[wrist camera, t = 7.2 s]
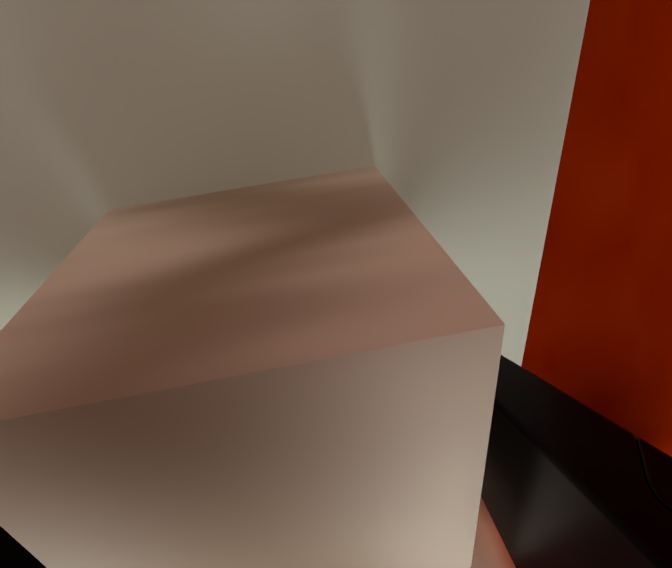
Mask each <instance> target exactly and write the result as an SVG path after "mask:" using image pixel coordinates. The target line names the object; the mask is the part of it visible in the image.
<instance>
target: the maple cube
mask: <svg viewBox="0 0 672 568" xmlns="http://www.w3.org/2000/svg"><path fill="white" fill-rule="evenodd" d="M504 328H505V324H504V322H503V321H502V320H501V319H500V318H499V316H498V315H497V314H496V313H495V311H494V310H493V309H492V308H491V307H490V305H489V304H488V303H487V302H486V301H485V299H484V298H483V297H482V296H481V294H480V293H479V292H478V291H477V290H476V288H475V287H474V286H473V285H472V283H471V282H470V281H469V280H468V279H467V277H466V276H465V275H464V274H463V273H462V271H461V270H460V269H459V268H458V266H457V265H456V264H455V263H454V262H453V260H452V259H451V258H450V257H449V256H448V254H447V253H446V252H445V251H444V249H443V248H442V247H441V246H440V245H439V243H438V242H437V241H436V240H435V238H434V237H433V236H432V235H431V234H430V232H429V231H428V230H427V229H426V228H425V226H424V225H423V224H422V223H421V221H420V220H419V219H418V218H417V217H416V215H415V214H414V213H413V212H412V210H411V209H410V208H409V207H408V206H407V204H406V203H405V202H404V201H403V200H402V198H401V197H400V196H399V195H398V193H397V192H396V191H395V190H394V189H393V187H392V186H391V185H390V184H389V182H388V181H387V180H386V179H385V178H384V176H383V175H382V174H381V173H380V172H379V170H378V169H377V168H376V167H375V166H372V167H366V168H360V169H354V170H348V171H342V172H336V173H329V174H323V175H317V176H311V177H305V178H299V179H293V180H287V181H280V182H274V183H268V184H262V185H256V186H250V187H244V188H238V189H231V190H225V191H219V192H213V193H207V194H201V195H195V196H188V197H182V198H176V199H170V200H164V201H158V202H152V203H146V204H139V205H133V206H127V207H121V208H115V209H109V210H108V211H107V212H106V214H105V215H104V216H103V217H102V218H101V219H100V220H99V221H98V223H97V224H96V225H95V226H94V227H93V228H92V229H91V230H90V231H89V233H88V234H87V235H86V236H85V237H84V238H83V239H82V240H81V242H80V243H79V244H78V245H77V246H76V247H75V248H74V249H73V250H72V252H71V253H70V254H69V255H68V256H67V257H66V258H65V259H64V261H63V262H62V263H61V264H60V265H59V266H58V267H57V268H56V269H55V271H54V272H53V273H52V274H51V275H50V276H49V277H48V278H47V279H46V281H45V282H44V283H43V284H42V285H41V286H40V287H39V288H38V290H37V291H36V292H35V293H34V294H33V295H32V296H31V297H30V298H29V300H28V301H27V302H26V303H25V304H24V305H23V306H22V307H21V309H20V310H19V311H18V312H17V313H16V314H15V315H14V316H13V317H12V319H11V320H10V321H9V322H8V323H7V324H6V325H5V326H4V328H3V329H2V330H1V331H0V526H1V527H2V528H3V529H4V530H5V531H7V532H8V533H9V534H10V535H11V536H12V537H13V538H14V539H15V540H17V541H18V542H19V543H20V544H21V545H22V546H23V547H24V548H25V549H27V550H28V551H29V552H30V553H31V554H32V555H33V556H34V557H35V558H37V559H38V560H39V561H40V562H41V563H42V564H43V565H44V566H45V567H47V568H471V562H472V555H473V548H474V541H475V534H476V527H477V520H478V513H479V506H480V498H481V491H482V484H483V477H484V470H485V463H486V456H487V449H488V442H489V435H490V428H491V420H492V413H493V406H494V399H495V392H496V385H497V378H498V371H499V364H500V357H501V350H502V343H503V335H504Z"/></svg>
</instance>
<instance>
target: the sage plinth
mask: <svg viewBox="0 0 672 568" xmlns="http://www.w3.org/2000/svg"><path fill="white" fill-rule="evenodd" d="M589 4H590V0H0V331H1V330H2V329H3V328H4V326H5V325H6V324H7V323H8V322H9V321H10V320H11V319H12V317H13V316H14V315H15V314H16V313H17V312H18V311H19V310H20V309H21V307H22V306H23V305H24V304H25V303H26V302H27V301H28V300H29V298H30V297H31V296H32V295H33V294H34V293H35V292H36V291H37V290H38V288H39V287H40V286H41V285H42V284H43V283H44V282H45V281H46V279H47V278H48V277H49V276H50V275H51V274H52V273H53V272H54V271H55V269H56V268H57V267H58V266H59V265H60V264H61V263H62V262H63V261H64V259H65V258H66V257H67V256H68V255H69V254H70V253H71V252H72V250H73V249H74V248H75V247H76V246H77V245H78V244H79V243H80V242H81V240H82V239H83V238H84V237H85V236H86V235H87V234H88V233H89V231H90V230H91V229H92V228H93V227H94V226H95V225H96V224H97V223H98V221H99V220H100V219H101V218H102V217H103V216H104V215H105V214H106V212H107V211H108V210H109V209H115V208H121V207H127V206H133V205H139V204H146V203H152V202H158V201H164V200H170V199H176V198H182V197H188V196H195V195H201V194H207V193H213V192H219V191H225V190H231V189H238V188H244V187H250V186H256V185H262V184H268V183H274V182H280V181H287V180H293V179H299V178H305V177H311V176H317V175H323V174H329V173H336V172H342V171H348V170H354V169H360V168H366V167H372V166H375V167H376V168H377V169H378V170H379V172H380V173H381V174H382V175H383V176H384V178H385V179H386V180H387V181H388V182H389V184H390V185H391V186H392V187H393V189H394V190H395V191H396V192H397V193H398V195H399V196H400V197H401V198H402V200H403V201H404V202H405V203H406V204H407V206H408V207H409V208H410V209H411V210H412V212H413V213H414V214H415V215H416V217H417V218H418V219H419V220H420V221H421V223H422V224H423V225H424V226H425V228H426V229H427V230H428V231H429V232H430V234H431V235H432V236H433V237H434V238H435V240H436V241H437V242H438V243H439V245H440V246H441V247H442V248H443V249H444V251H445V252H446V253H447V254H448V256H449V257H450V258H451V259H452V260H453V262H454V263H455V264H456V265H457V266H458V268H459V269H460V270H461V271H462V273H463V274H464V275H465V276H466V277H467V279H468V280H469V281H470V282H471V283H472V285H473V286H474V287H475V288H476V290H477V291H478V292H479V293H480V294H481V296H482V297H483V298H484V299H485V301H486V302H487V303H488V304H489V305H490V307H491V308H492V309H493V310H494V311H495V313H496V314H497V315H498V316H499V318H500V319H501V320H502V321H503V322H504V324H505V328H504V335H503V343H502V350H501V355H503V356H504V357H506V358H508V359H509V360H511V361H513V362H514V363H516V364H518V365H519V366H521V365H522V359H523V354H524V349H525V343H526V338H527V333H528V328H529V322H530V317H531V312H532V306H533V301H534V296H535V290H536V285H537V280H538V274H539V269H540V264H541V259H542V253H543V248H544V243H545V237H546V232H547V227H548V221H549V216H550V211H551V205H552V200H553V195H554V190H555V184H556V179H557V174H558V168H559V163H560V158H561V152H562V147H563V142H564V136H565V131H566V126H567V121H568V115H569V110H570V105H571V99H572V94H573V89H574V83H575V78H576V73H577V67H578V62H579V57H580V52H581V46H582V41H583V36H584V30H585V25H586V20H587V14H588V9H589Z"/></svg>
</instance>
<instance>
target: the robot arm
mask: <svg viewBox="0 0 672 568" xmlns="http://www.w3.org/2000/svg"><path fill="white" fill-rule="evenodd" d="M481 497H482V499H483V501H484V503H485V505H486V507H487V509H488V511H489V513H490V515H491V517H492V519H493V521H494V523H495V525H496V527H497V530H498V532H499V534H500V536H501V538H502V540H503V542H504V544H505V546H506V548H507V550H508V552H509V554H510V556H511V558H512V560H513V563H514V565H515V567H516V568H672V457H671V456H669V455H667V454H666V453H664V452H662V451H661V450H659V449H657V448H656V447H654V446H652V445H651V444H649V443H647V442H646V441H644V440H642V439H641V438H637V439H636V438H635V436H634V434H632V433H631V432H629V431H627V430H626V429H624V428H622V427H621V426H619V425H617V424H616V423H614V422H612V421H611V420H609V419H607V418H606V417H604V416H602V415H601V414H599V413H597V412H596V411H594V410H592V409H591V408H589V407H587V406H586V405H584V404H582V403H581V402H579V401H577V400H576V399H574V398H572V397H571V396H569V395H567V394H566V393H564V392H562V391H561V390H559V389H557V388H556V387H554V386H552V385H551V384H549V383H547V382H546V381H544V380H542V379H541V378H539V377H537V376H536V375H534V374H532V373H531V372H529V371H528V370H526V369H524V368H523V367H521V366H519V365H518V364H516V363H514V362H513V361H511V360H509V359H508V358H506V357H504V356H503V355H501V357H500V364H499V371H498V378H497V385H496V392H495V399H494V406H493V413H492V420H491V428H490V435H489V442H488V449H487V456H486V463H485V470H484V477H483V484H482V491H481ZM0 568H47V567H45V566H44V565H43V564H42V563H41V562H40V561H39V560H38V559H37V558H35V557H34V556H33V555H32V554H31V553H30V552H29V551H28V550H27V549H25V548H24V547H23V546H22V545H21V544H20V543H19V542H18V541H17V540H15V539H14V538H13V537H12V536H11V535H10V534H9V533H8V532H7V531H5V530H4V529H3V528H2V527H1V526H0Z"/></svg>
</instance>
